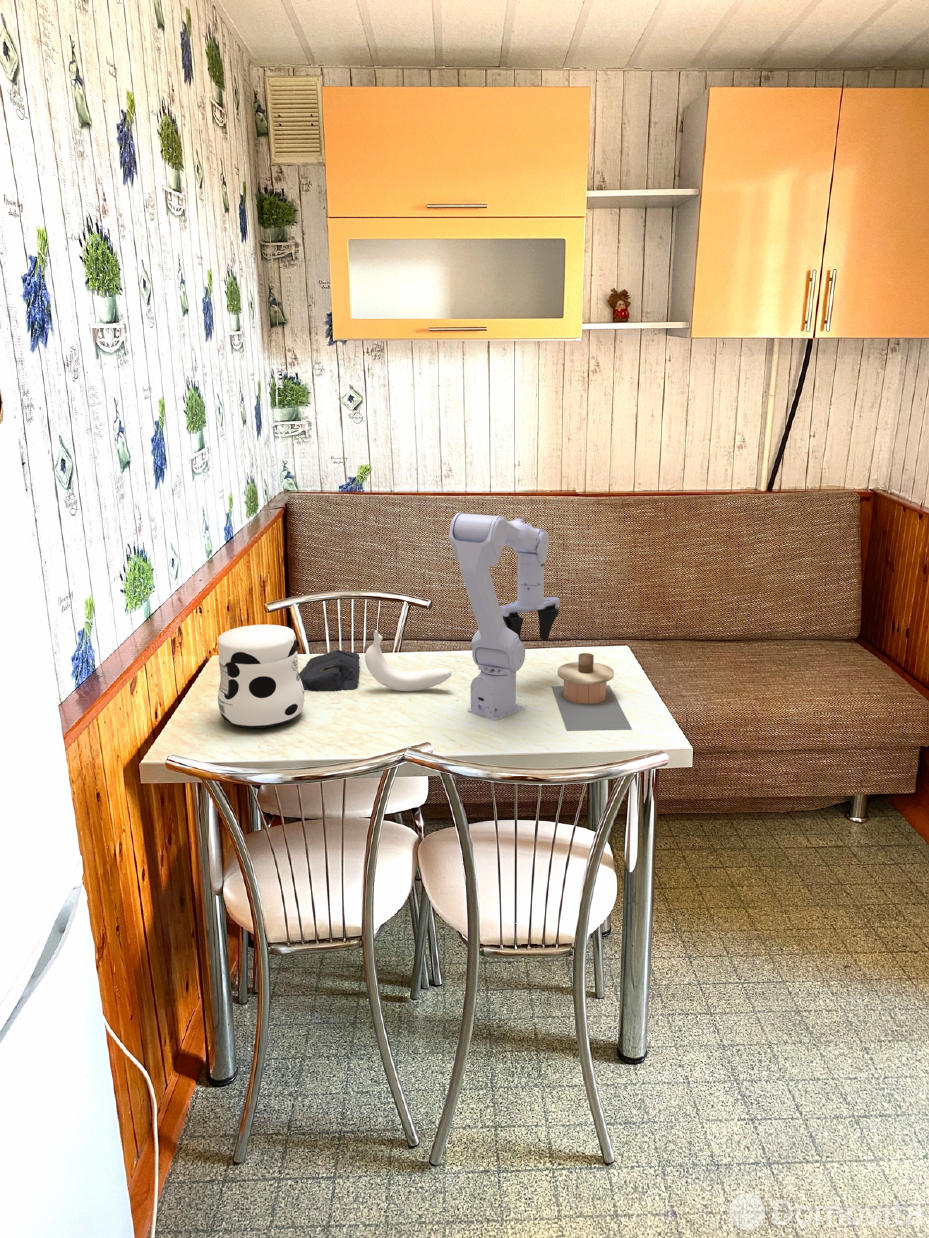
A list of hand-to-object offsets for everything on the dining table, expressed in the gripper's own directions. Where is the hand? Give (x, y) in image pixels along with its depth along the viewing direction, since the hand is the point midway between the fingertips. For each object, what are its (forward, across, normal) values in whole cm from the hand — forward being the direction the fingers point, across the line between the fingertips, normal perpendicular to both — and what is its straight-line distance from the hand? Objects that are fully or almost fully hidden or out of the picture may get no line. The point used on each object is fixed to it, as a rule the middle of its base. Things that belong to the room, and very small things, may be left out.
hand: (529, 642), depth 205 cm
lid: (+5, +6, -12) cm, 14 cm away
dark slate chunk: (+11, -34, +32) cm, 48 cm away
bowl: (+10, +6, -12) cm, 17 cm away
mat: (+10, +3, -17) cm, 20 cm away
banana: (+11, -24, +12) cm, 29 cm away
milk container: (+11, -57, +15) cm, 60 cm away
